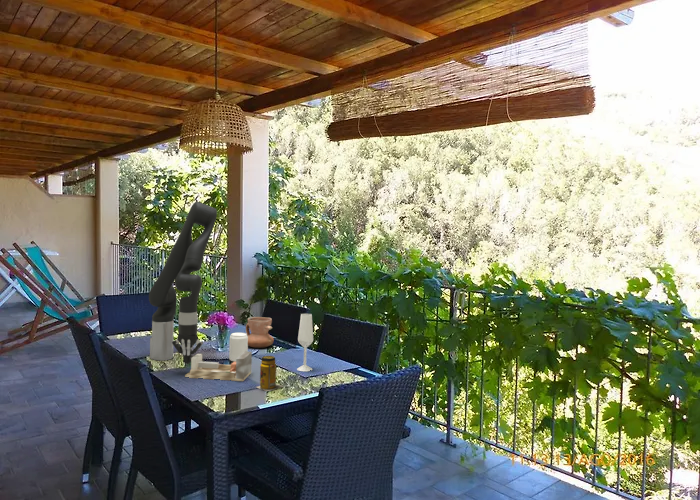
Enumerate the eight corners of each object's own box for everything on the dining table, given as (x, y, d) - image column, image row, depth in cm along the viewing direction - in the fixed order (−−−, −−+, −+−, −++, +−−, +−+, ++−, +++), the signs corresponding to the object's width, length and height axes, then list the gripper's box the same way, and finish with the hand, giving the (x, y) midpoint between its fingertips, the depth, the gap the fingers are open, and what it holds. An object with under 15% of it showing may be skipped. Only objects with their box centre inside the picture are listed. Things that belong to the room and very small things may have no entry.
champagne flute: (305, 366, 243) (307, 312, 241) (315, 369, 238) (317, 315, 237) (293, 368, 238) (295, 314, 237) (303, 372, 233) (305, 316, 232)
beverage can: (243, 363, 244) (243, 336, 243) (226, 361, 246) (226, 335, 245) (250, 358, 252) (250, 333, 251) (233, 357, 254) (234, 331, 253)
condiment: (255, 387, 211) (255, 356, 211) (271, 382, 218) (272, 353, 217) (267, 391, 207) (268, 360, 206) (284, 387, 213) (285, 356, 212)
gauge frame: (184, 377, 220) (185, 355, 220) (195, 369, 232) (196, 348, 232) (243, 381, 218) (243, 359, 218) (251, 372, 230) (251, 351, 230)
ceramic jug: (281, 346, 276) (281, 319, 276) (259, 351, 265) (260, 322, 265) (257, 341, 288) (258, 314, 287) (235, 345, 277) (236, 317, 276)
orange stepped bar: (228, 373, 219) (228, 366, 219) (233, 368, 227) (233, 361, 226) (232, 374, 219) (233, 366, 219) (238, 368, 226) (238, 361, 226)
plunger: (191, 372, 223) (191, 357, 222) (197, 367, 230) (197, 353, 229) (215, 373, 222) (215, 359, 221) (220, 369, 229) (220, 355, 228)
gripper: (168, 323, 222) (168, 365, 223) (200, 325, 221) (199, 367, 222) (176, 319, 229) (175, 360, 231) (206, 321, 228) (205, 362, 229)
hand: (187, 363), depth 226 cm, fingers closed
